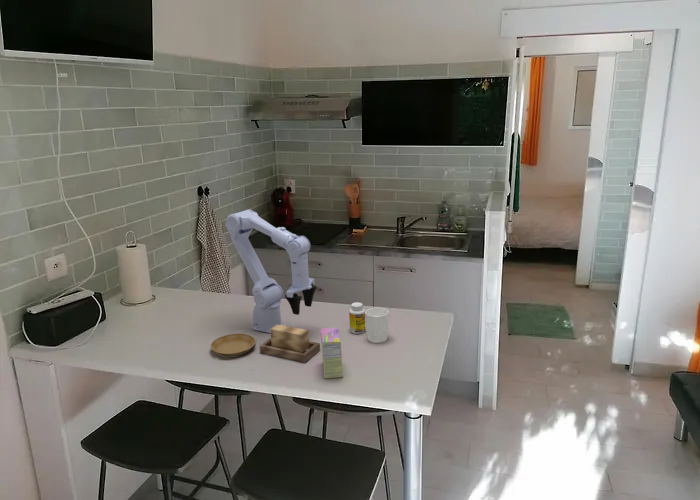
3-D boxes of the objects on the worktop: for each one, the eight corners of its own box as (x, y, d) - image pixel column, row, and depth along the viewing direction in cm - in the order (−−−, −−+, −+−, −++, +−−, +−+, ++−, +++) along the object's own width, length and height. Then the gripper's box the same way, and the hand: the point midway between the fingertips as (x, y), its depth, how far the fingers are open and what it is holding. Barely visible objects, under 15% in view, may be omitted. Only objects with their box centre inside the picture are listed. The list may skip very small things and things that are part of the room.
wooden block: (271, 345, 177) (270, 328, 176) (278, 340, 181) (277, 324, 179) (302, 352, 172) (301, 335, 170) (309, 347, 175) (308, 330, 174)
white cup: (392, 336, 186) (391, 309, 183) (384, 345, 179) (383, 317, 176) (371, 332, 189) (370, 306, 186) (362, 341, 182) (361, 314, 180)
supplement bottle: (355, 335, 187) (354, 308, 184) (346, 330, 191) (345, 303, 189) (368, 331, 190) (367, 304, 187) (359, 326, 194) (358, 300, 191)
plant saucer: (265, 345, 183) (264, 338, 182) (236, 364, 170) (235, 356, 170) (231, 337, 190) (230, 330, 189) (201, 355, 177) (201, 347, 177)
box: (322, 362, 169) (320, 328, 166) (340, 361, 170) (338, 326, 166) (323, 379, 159) (321, 342, 156) (342, 377, 160) (341, 341, 156)
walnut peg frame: (260, 353, 177) (259, 345, 176) (276, 341, 185) (275, 334, 184) (305, 363, 169) (304, 355, 168) (320, 350, 177) (319, 343, 176)
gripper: (298, 280, 174) (300, 319, 177) (321, 267, 186) (323, 304, 190) (280, 278, 177) (282, 316, 181) (304, 265, 189) (306, 301, 193)
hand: (302, 310), depth 185 cm, fingers open, 7 cm apart
